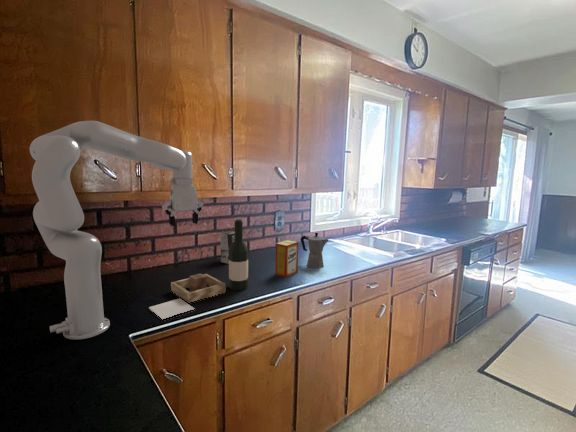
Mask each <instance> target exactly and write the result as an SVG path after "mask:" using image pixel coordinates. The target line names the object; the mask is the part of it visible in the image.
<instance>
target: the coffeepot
mask: <svg viewBox="0 0 576 432" xmlns="http://www.w3.org/2000/svg"><path fill="white" fill-rule="evenodd" d="M305 240H306V241H307V242H308V249H309V252H308V258H307V261H306V262H307V263H306V266H307V267H308V268H312V269H320V268H323V267H324V260H323V259H324V258H323V251H324V247H325V245H326V244H327V242H329V240H328V239H327V238H325V237H323V236H319V233H318V232H315V233H314V236H313V235H312V236H309V235H303V236H301V237H300V243H301V246H302V249H303V251H306V252H307V251H308V249H307V248H306V244H305Z"/></svg>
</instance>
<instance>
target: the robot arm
mask: <svg viewBox="0 0 576 432" xmlns="http://www.w3.org/2000/svg"><path fill="white" fill-rule="evenodd" d="M86 149H87V150H92V149H93V150H96V151H99V152H102V153H106V154H109V155H113V156H115V157H119V158H122V159H125V160H127V161H128V160H130V161H134V162H145V163H150V164H151V165H152V167H154V168H156V169H158V170H166V171H167V170H168V171H172V178H171V179H169V183H170V184H172V186H171V187H170V191H169V192H170V195H169V201H167V202H165V203H164V204H162V205H161V208H162V210H163V212H164V213H165V214H166V215H167V216H168V223H169V226H171V227H175V226H176V217H175V214H176V213H177V212H190V211H192V212H193V213H192V216H191V217H192V218H191V219H192V223H193V224H196V225H197V224H198V221H199V214H200V212H201V211H202V209H203V207H204V205H205V203H204V202H202V201H200V200H198V195H197V189H196V186H195V185H194V184H193V182H194V181H193V178H194V177H193V171H194V170H193V154H192V152H191V151H189V150H180V149H179V148H177V147H174V146H172V145H169V144H166V143H163V142H160V141H156V140H153V139H149V138H146V137H142V136H139V135H135V134H133V133H131V132H127V131H124V130H122V129H119V128H116V127H115V126H112V125H109V124H107V123H104V122H101V121H98V120H83V121H75V122H74V123H70V124H68V125H65V126H63V127H60V128H59V129H55V130H53V131H50V132H47V133H45V134H42V135H40V136H38V137H36V138H34V139H33V140H32V142H31V143H30V145H29V153H30V155H31V158H32V159H33V160H35V162H34V164H33V167H32V172H31V181H32V182H31V183H32V185H33V188H34V191H35V194H36V196H37V198H38V201H37V202H36V204H35V205H34V207H33V211H32V217H33V220H34V224H35V225H36V227H37V229H38V232H39V233H40V235H41V237H42V240H43V241H44V243H45V245H46V247H47V249H48V250H49V251H50V252H49V253H51V254H52V255H53V256H55V257H57V258H60V259H62V260H64V261H65V267H64V272H63V274H64V275H63V281H64V283H63V284H64V289H65V290H64V291H65V298H66V299H65V301H66V310H67V312H66V314H67V317H65V320H64V321H61V322H60V323H57V324H53V325H50V326H49V331H50V333H54V332H55V333H56V334H61V333H62V335H63V337H64V338H66V339H68V340H76V341H78V340H84V339H85V340H86V339H89V338H93V337H96V336H99V335H100V334H103V333H104V332H106V331H107V330H108V329H109V328H110V326H111V321H110V319H109V318H107V317H105V314H104V301H103V289H102V277H101V276H102V275H101V263H102V262H101V261H102V255H103V254H102V253H103V249H102V248H103V247H102V243H101V242H100V240H99V238H97V237H96V236H95V235H94V234H91V233H89V232H85V231H81V230H78V229H80V228H81V227H83V224H84V222H85V214H84V211H83V208H82V207H81V204H80V201H79V199H78V198H77V195H76V193H75V190H74V188H73V185H72V181H71V172H72V171H73V170H72V169H73V168H74V166H75V164H76V163H78V160H79V159H80V156H81V152H83V151H85V150H86ZM168 207H169V209H168Z"/></svg>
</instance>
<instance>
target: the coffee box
mask: <svg viewBox="0 0 576 432" xmlns="http://www.w3.org/2000/svg"><path fill="white" fill-rule="evenodd" d="M234 241H235V230H230V231H226V232H220V262H221V263H224V264H227V265H229V249H230V248H231V246H232V244H233V243H234Z"/></svg>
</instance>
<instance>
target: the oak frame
mask: <svg viewBox="0 0 576 432" xmlns="http://www.w3.org/2000/svg"><path fill="white" fill-rule="evenodd" d="M203 275H205V276H206V277H207V288H203V289H200V290H196V291H193V292H190V290H187V289H186V288H188V289H190V277H188V278H184V279H180V280H176V281H171V282H170V292H171V291H172V292H173V293H172V292H171V293H172V294H174V293H175V294H176V295H175V294H174V295H175V296H177V295H178V296H179V297H178V296H177V297H178V298H180V297H181V298H182V299H184V300H185V301H187V302H188V303H190V302H194V301H197V300H200V299H203V300H205V299H204V298H207V299H209V298H208V297H210V298H212V296H213V297H216V296H219V295H218V294H220V295H222V293H223V294H226V293H225V292H226V283H225V282H224V281H221V280H220V279H218V278H216V277H213V276H212V275H210V274H208V273H204V274H203ZM215 295H216V296H215ZM181 298H180V299H181ZM184 300H183V301H184ZM200 301H201V300H200ZM187 302H186V303H187ZM197 302H198V301H197ZM188 303H187V304H188ZM194 303H195V302H194ZM190 304H191V303H190Z"/></svg>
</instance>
